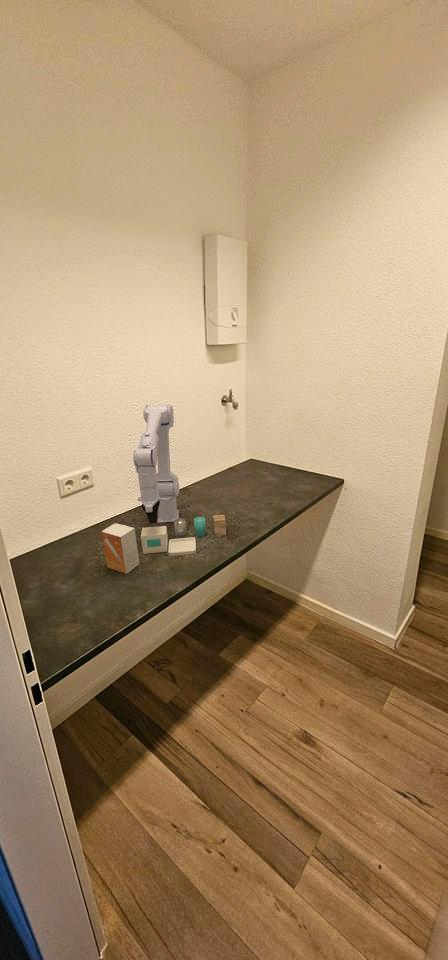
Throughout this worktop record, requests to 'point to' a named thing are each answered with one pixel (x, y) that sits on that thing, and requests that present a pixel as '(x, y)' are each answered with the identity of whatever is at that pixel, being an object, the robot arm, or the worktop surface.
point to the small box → (120, 548)
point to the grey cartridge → (180, 528)
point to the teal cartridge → (200, 526)
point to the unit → (154, 539)
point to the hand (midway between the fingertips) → (153, 522)
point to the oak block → (219, 525)
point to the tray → (182, 546)
